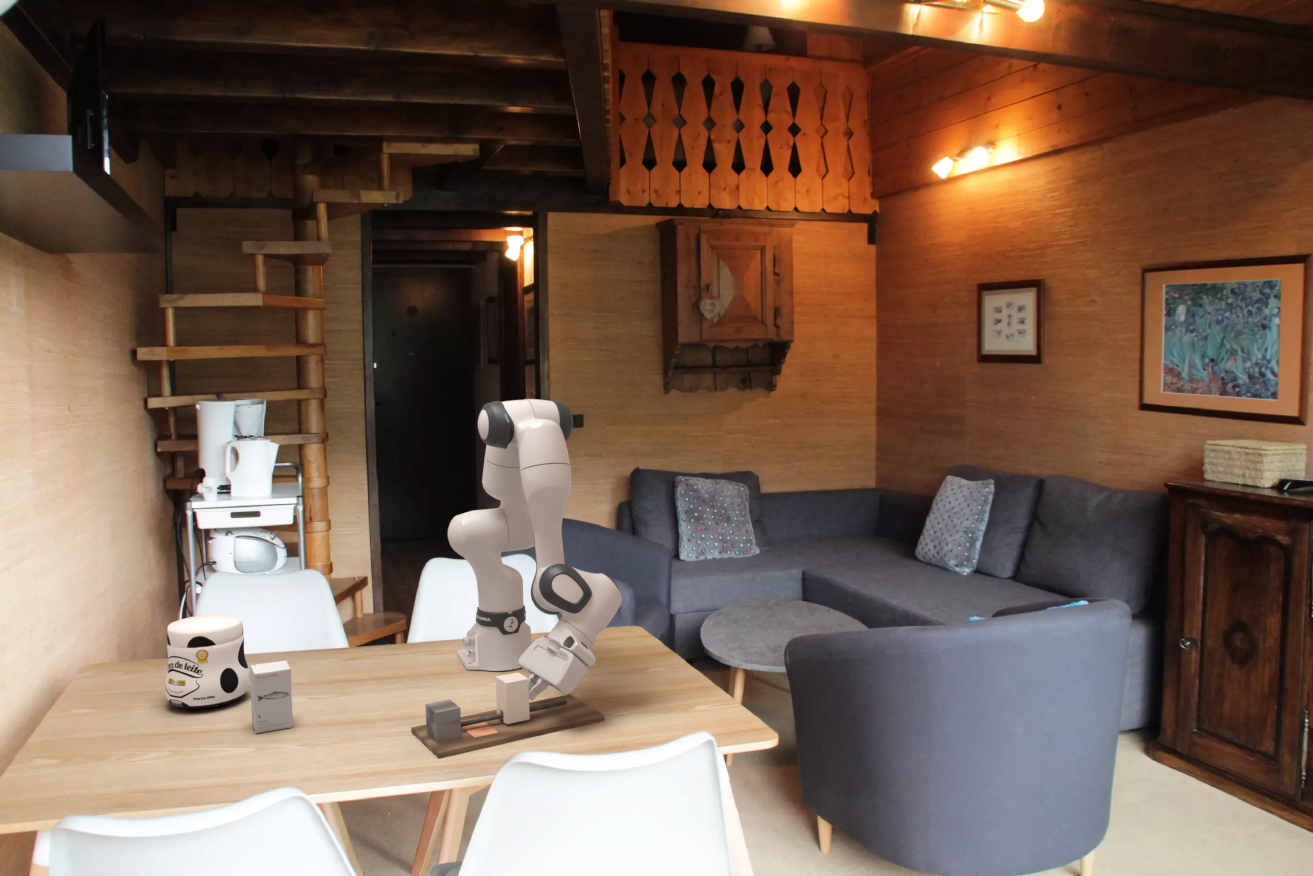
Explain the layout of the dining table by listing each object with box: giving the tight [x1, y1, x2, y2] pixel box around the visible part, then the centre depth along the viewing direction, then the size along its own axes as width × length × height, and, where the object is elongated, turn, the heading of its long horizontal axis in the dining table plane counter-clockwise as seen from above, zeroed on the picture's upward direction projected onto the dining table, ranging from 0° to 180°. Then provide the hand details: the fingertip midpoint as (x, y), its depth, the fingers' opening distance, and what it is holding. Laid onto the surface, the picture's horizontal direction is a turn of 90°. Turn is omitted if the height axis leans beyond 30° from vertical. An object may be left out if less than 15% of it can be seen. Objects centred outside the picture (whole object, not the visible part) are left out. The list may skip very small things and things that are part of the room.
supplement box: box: [249, 660, 294, 734], centre depth 205 cm, size 7×7×13 cm
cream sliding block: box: [495, 671, 530, 724], centre depth 203 cm, size 5×5×8 cm
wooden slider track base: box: [410, 693, 606, 759], centre depth 203 cm, size 16×36×7 cm, turn 122°
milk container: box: [164, 613, 250, 710], centre depth 220 cm, size 17×17×18 cm
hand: (526, 697), depth 205 cm, fingers closed, pressing on cream sliding block
